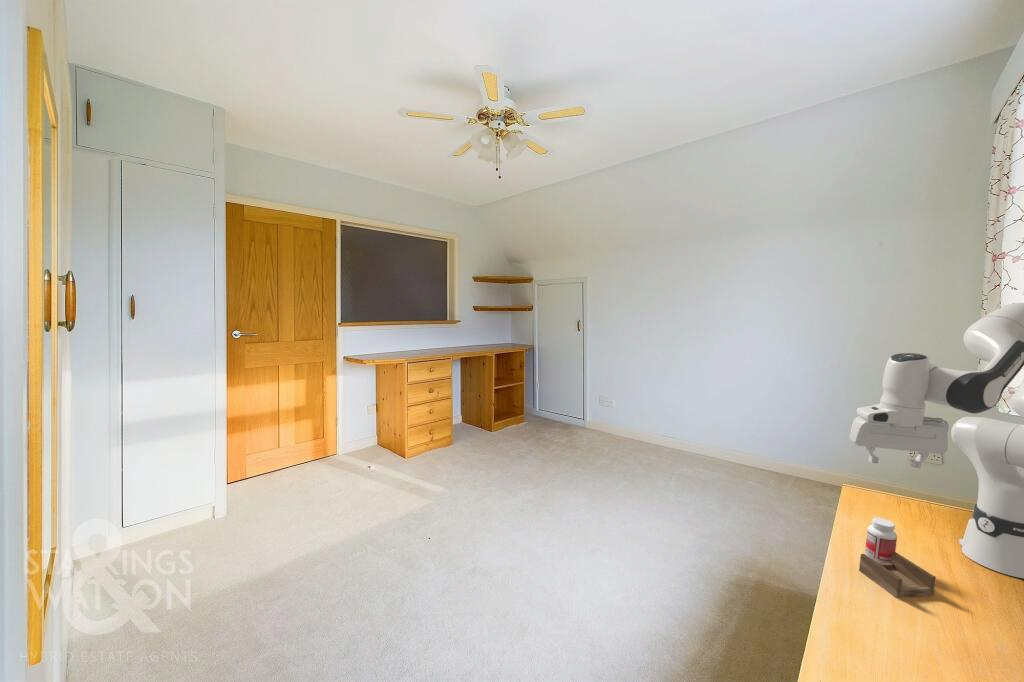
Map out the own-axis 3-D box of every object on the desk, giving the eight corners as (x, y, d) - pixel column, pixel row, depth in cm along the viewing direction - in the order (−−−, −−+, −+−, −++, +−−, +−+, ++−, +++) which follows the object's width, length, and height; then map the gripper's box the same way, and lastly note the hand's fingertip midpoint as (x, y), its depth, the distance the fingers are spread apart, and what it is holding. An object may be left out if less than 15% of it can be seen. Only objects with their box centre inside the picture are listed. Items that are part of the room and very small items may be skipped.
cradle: (893, 568, 113) (895, 551, 113) (933, 595, 103) (935, 577, 103) (858, 570, 112) (860, 553, 112) (896, 597, 103) (898, 579, 102)
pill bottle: (897, 561, 116) (901, 523, 115) (889, 569, 113) (894, 530, 112) (869, 549, 122) (873, 513, 120) (861, 557, 118) (865, 520, 117)
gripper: (941, 415, 112) (933, 465, 113) (849, 407, 117) (844, 455, 119) (958, 422, 106) (950, 474, 107) (861, 414, 111) (855, 464, 113)
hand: (894, 464), depth 113 cm, fingers open, 8 cm apart
